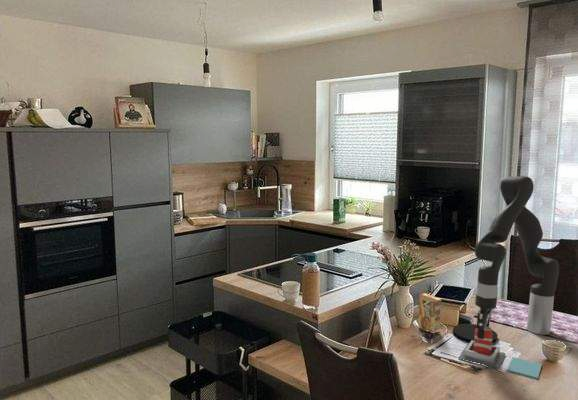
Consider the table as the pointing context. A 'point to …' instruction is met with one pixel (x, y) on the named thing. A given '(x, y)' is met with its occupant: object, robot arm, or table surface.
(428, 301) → the candy box
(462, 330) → the black round disc
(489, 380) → the table surface
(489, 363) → the can holder
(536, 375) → the mat
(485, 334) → the beverage can
